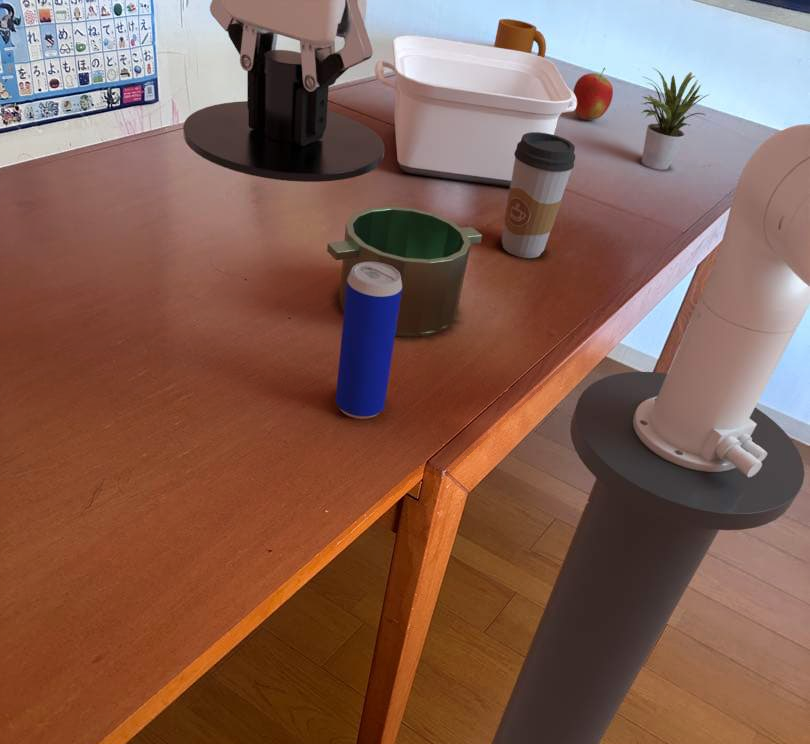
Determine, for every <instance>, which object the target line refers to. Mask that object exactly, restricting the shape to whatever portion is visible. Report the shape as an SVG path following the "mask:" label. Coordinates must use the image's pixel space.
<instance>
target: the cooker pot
mask: <svg viewBox="0 0 810 744" xmlns="http://www.w3.org/2000/svg"><path fill="white" fill-rule="evenodd" d="M482 237H483V235H482V234H481V233H480V232H479V231H477V230H476V228H474V227H473V226H467V227H460V226H459V225H458V224H456V223H455V222H453V221H452V220H449V219H447V218H444V217H443V216H440V215H438V214H435V213H433V212H428V211H425V210H420V209H416V208H413V207H412V208H411V207H400V206H381V207H370V208H366V209H363V210H360V211H358V212H355V213H353V214H352V215H351V216H350V217H349V219H348V220H347V221H346V222H345V230H344V240H342V241H333V242H328V243H327V246H326V249H327V250H326V252H327V253H328V254H329V255H330V256H331V257H332V258H333V259H334V260H335V261H340V260H341V261H342V262H341V263H342V264H341V272H340V273H341V274H340V284H339V285H340V286H339V303H340V307H341V309H342V310H343V312H344V309H345V298H346V288H347V279H348V276H349V274H350V272H351V269H352V268H353V266H355V265H356V264H359V263H362V262H379V263H383V264H387V265H389V266H392V267H394V268H395V269H396V270H398V271H399V273H400V275H401V282H402V292H401V299H400V306H399V312H398V319H397V326H396V332H395V337H402V338H423V337H429V336H432V335H436V334H439V333H442V332H444V331H446V330H447V329H449V328H450V327H451V326H452V325H453V323H454V321H455V318H456V315H457V313H458V308H459V304H460V299H461V295H462V291H463V290H462V289H463V284H464V280H465V276H466V275H465V274H466V271H467V270H466V269H467V265H468V260H469V255H470V250H471V245H474V244H481V243H482V239H483V238H482Z"/></svg>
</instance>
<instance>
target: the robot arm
mask: <svg viewBox="0 0 810 744" xmlns="http://www.w3.org/2000/svg"><path fill="white" fill-rule="evenodd" d="M367 1H368V0H211V2H210V5H209V12H210V15H211V16H212V17H213V18H214V20H215V21H217V23H218V24H219V25H220V26H221V28H222V29H223V30H224V31H225V32H227V34H228V37H229V39H230V41H231V42H232V44H233V46H234V48H235V49H236V51H237V53H238V54H239V62H240V63H239V65H240V66H241V68H242V69H243V71H245V72H247V73H246V74H247V77H246V78H247V83H246V85H247V90H246V91H247V94H246V95H247V96H246V97H247V100H246V101H247V106H248V110H249V127H250V128H252V129H255V130H258V129H260V128H263V81H264V53H265V52H267V51H271V50H276V47H277V40H278V35H279V36H283V37H286V38H290V39H293V40H295V41H299V48H300V49H299V50H300V53H301V63H302V76H303V87H302V88H299V89H297V91H296V102H295V130H294V141H295V142H296V144H297V145H300V146H305V145H308V144H310V143H312V142H315V141H317V140H320V139H321V138H322V137H323V134H324V131H325V128H326V121H327V111H328V105H329V90H330V89H329V88H330V87H331V86H333V85H335V83H336V81H337V79H339V78H340V77H341V76H342V75H344V73H345V72H346V71H348V70H349V69H351V68H353V67H355V66H357V65H360V64H362V63H363V62H366V61H368V60H370V59H371V58H372V56H373V53H374V52H373V47H372V44H371V41H370V38H369V35H368V32H367V29H366V26H365V24H366V15H367V4H368V3H367ZM336 37H339V38H343V41H344V44H343V47H342V48H341V49H339V50H338V51H336V42H335V40H336ZM809 306H810V123H804V124H797V125H793V126H789V127H787V128H784V129H782V130H779V131H778V132H777V133H774V134H773V135H771V136H770V137H769V138H767V139H766V140H765V141H763V143H761V144H760V146H758V147H757V148H756V150H755V151H754V153H753V154H752V155H751V156H750V158H749V159H748V160H747V162H746V164H745V166H744V168H743V169H742V171H741V174H740V176H739V179H738V181H737V184H736V186H735V190H734V192H733V196H732V201H731V204H730V208H729V211H728V216H727V220H726V225H725V229H724V232H723V236H722V239H721V242H720V246H719V249H718V251H717V254H716V257H715V258H714V262H713V264H712V267H711V269H710V272H709V275H708V277H707V279H706V281H705V284H704V287H703V289H702V291H701V293H700V295H699V298H698V300H697V303H696V305H695V306H694V310H693V312H692V314H691V317H690V319H689V321H688V323H687V326H686V328H685V331H684V333H683V335H682V338H681V340H680V342H679V344H678V347H677V349H676V352H675V353H674V357H673V359H672V362H671V364H670V366H669V367H668V368H669V369H668V371H667V373H666V374H667V375H666V378H665V380H664V382H663V385H662V387H661V390H660V392H659V394H658V396H657V397H653V398H650V399H647V400H645V401H644V402H642V403H641V404H640V405H639V406H638V408H637V410H636V412H635V414H634V418H633V427H634V429H635V432H636V434H637V435H638V437H639V438H640V440H641V441H642V442H643V443H644V444H645V445H646V446H647V447H648V448H649V449H650V450H652V451H653V452H654V453H656V454H657V455H659V456H661V457H662V458H664V459H666V460H668V461H670V462H672V463H674V464H676V465H679V466H682V467H685V468H689V469H693V470H697V471H705V472H721V471H727V470H731V469H733V468H738V469H739V470H740V471H741V472H743V473H744V474H745V475H746V476H747V477H752V476H753V475H755V474H756V473H757V472H758V471H759V470H760V468H761V466H762V462H761V461H763V460H764V459H765V457H766V456H767V452H766V451H765V450H764V449H762V448H761V447H760V446H758V445H756V444H755V443H754V442H752V438H751V437H750V436H751V434H752V432H753V430H754V429H755V427H756V425H757V424H756V423H755V422H753V421H752V420H751V419H750V416H751V414H752V412H753V410H754V408H755V407H756V406H757V404H758V402H759V401H760V399H761V397H762V395H763V393H764V391H765V389H766V388H767V386H768V384H769V382H770V380H771V378H772V376H773V374H774V372H775V371H776V369H777V367H778V364H779V363H780V361H781V359H782V357H783V355H784V353H785V352H786V350H787V348H788V347H789V344H790V342H791V340H792V338H793V336H794V334H795V332H796V330H797V329H798V327H799V326H800V324H801V322H802V320H803V318H804V316H805V314H806V312H807V310H808V308H809Z"/></svg>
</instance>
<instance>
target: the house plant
mask: <svg viewBox="0 0 810 744" xmlns="http://www.w3.org/2000/svg"><path fill="white" fill-rule="evenodd" d="M652 69H654V70H655V71H656V72H657V73H658V74H659V76H660V79H661V81H662V87H663V91H662V89H661V88H660V86H659V85H658V84H657V83H656V82H655V81H654V80H652V79H650V78H648V77H645V76H643V78H644V79H647V80H649V81H651V82H652V83H654V84H655V85H656V86H657V87H658V88H657V87H656V86H655V85H654V84H652V83H650V82H647V84H649V85H651V86H652V87H654V89H655V90H656V93H657V97H658V99H656V98H654V97H653V96H651V95H650V94H649V93H646V94H647V95H648V96H643V95H642V96H641V97H642V98H643V99H645V100H647V101H646V102H644V103H643V102H641V105H645V106H648V108H649V109H644V110H643V111H642V112H641V114H643V113H647V114H646V115H645V116H644V119H646V118H647V117H651V116H654V117H655V119H656V122H657V123H650V124H648V125H647V126H646V127H647V128H646V133H645V139H644V145H643V151H642V156H641V163H642V164H643V166H646V167H648V168H651V169H654V170H663V171H664V170H667V169H669V166H670V165H671V164H672V163H671V162H672V161H673V158H674V157H675V155H676V153H677V151H678V149H679V147H680V145H681V144H682V142H683V140H684V138H685V134H686V133H685V131H683V130H681V128H682V127H684V126H688V127H690V126H691V124H689V123H686V122H684V121H685V120H686V119H688V118H689V117H692V116H694V115H703V116H706V114H705V113H703V112H695V113H692V114H689V115H686V116H685V114H686V113H687V112H688V111H689V110H690V109H691V108H692V107H694V106H695V105H696V104H697V103H699V102H700V101H702V99H704V98H706V97H707V96H709V94H707V95H702V94H699V95H697V94H698V92H699V90H700V88H701V86H702V84H700V85H699V86H697V84H698V81H699V79H696V80H695V82H694V84H693V85H692V86H691V88H690V89H689V91H688V93H686V95H685V97H684V98H683V96H684V94H685V91H686V89H687V86H688V85H689V83H690V82H691V80H692V79H693V78H695V77H696V75H693V73H692V72H691V71H690V72H689V73H687V75H686V76H684V79H683V80H682V82H681V84H680V87H679V88H678V92H677V85H676V78H675V75H674V74H672V76H671V79H670V80H671V81H670V85H669V87H668V83H667V81H666V79H665V77H664V75H663V74H662V73H661V72H660V71H659V70H658V69H656V68H654V67H652ZM696 86H697V88H696ZM695 88H696V89H695ZM658 89H659V90H658ZM663 92H664V93H663ZM660 93H661V94H660ZM660 95H662V98H663V101H664V102H662V99H661V96H660ZM682 99H683V100H682ZM681 101H682V102H681ZM648 104H649V105H652V106H653V108H652V107H651V106H649V105H648ZM664 114H665V115H664Z"/></svg>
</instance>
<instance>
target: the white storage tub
mask: <svg viewBox="0 0 810 744" xmlns="http://www.w3.org/2000/svg"><path fill="white" fill-rule="evenodd" d="M391 41H392V51H393V64H392V63H389V62H387V61H386V60H382V59H379V60H377V61H376V64H375V67H374V75H375V79H377V81H379V82H380V83H381V84H382V85H384V86H386V87H390V88H392V89H394V91H395V99H394V100H395V101H394V102H395V104H394V129H395V130H394V132H395V145H396V156H397V162H398V165H399V168H400V169H401V170H403V171H404V172H405V173H407V174H410V175H419V176H426V177H434V178H442V179H448V180H455V181H463V182H471V183H479V184H487V185H494V186H500V187H501V186H502V187H509V188H510V186H511V180H512V174H513V168H514V162H515V155H514V154H515V151H516V149H517V144H518V143H519V142H520V141H521V139H522V136H523V135H524V134H526V133H531V132H540V133H547V134H552V135H555V132H556V128H557V124H558V122H559V117H560V116H561V114H562V113H571V112H575V109H576V106H577V99H576V96H575V94H574V93H573V90H572V89H570V88H569V87H568V85H567V83H566V81H565V80H564V78H563V76H562V75H561V72H560V71H559V69H558V68H557V65H556V64H555V63H553V61H551V60H549V59H548V58H545V57H544V58H543V57H540V56H537V55H538V54H534V53H531V54H530V53H526V52H521V51H516V50H509V49H503V48H496V47H494V46H488V45H482V44H478V43H477V44H476V43H469V42H463V41H457V40H449V39H443V38H437V37H430V36H424V35H413V34H412V35H411V34H410V35H408V34H407V35H399V36H395V37H394V38H393V39H392V40H391ZM384 68H389V69H391V70H392V71H393V72H394V75H395V83H394V82H392V81H390V80H388V79H387V78H385V76H384V70H385V69H384Z"/></svg>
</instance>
